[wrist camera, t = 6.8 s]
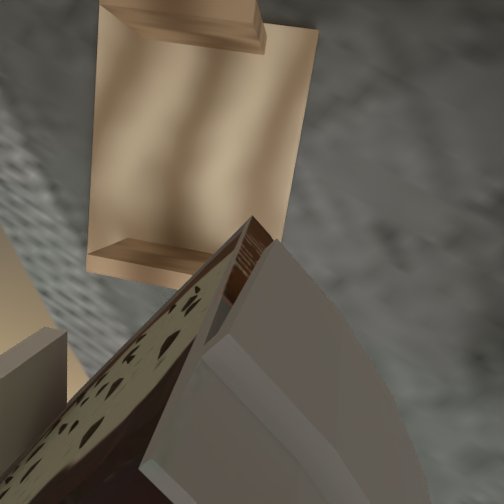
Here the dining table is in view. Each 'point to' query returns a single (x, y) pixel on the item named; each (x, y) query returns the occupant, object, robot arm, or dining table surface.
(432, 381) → the dining table surface
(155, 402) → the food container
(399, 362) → the dining table surface
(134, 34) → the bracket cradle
